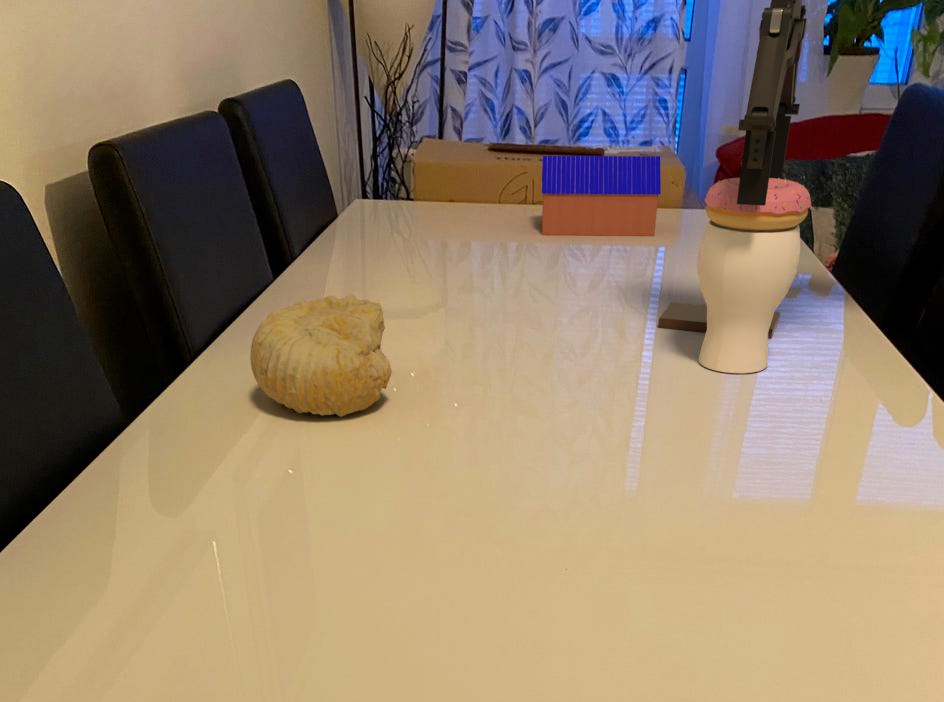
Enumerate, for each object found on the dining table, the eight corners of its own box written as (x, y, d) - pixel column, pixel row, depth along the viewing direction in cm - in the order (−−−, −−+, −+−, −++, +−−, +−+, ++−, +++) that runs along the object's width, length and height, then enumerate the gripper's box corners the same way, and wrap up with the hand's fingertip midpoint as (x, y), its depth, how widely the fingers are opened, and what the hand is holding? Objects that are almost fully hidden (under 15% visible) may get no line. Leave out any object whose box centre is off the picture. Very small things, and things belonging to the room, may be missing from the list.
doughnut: (804, 215, 108) (812, 173, 106) (810, 236, 99) (818, 191, 97) (703, 211, 110) (708, 170, 108) (700, 231, 101) (705, 187, 99)
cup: (800, 366, 112) (826, 226, 104) (735, 385, 107) (757, 238, 99) (730, 343, 119) (749, 210, 111) (666, 359, 114) (681, 221, 106)
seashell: (237, 434, 103) (351, 429, 95) (203, 329, 98) (321, 314, 90) (331, 385, 115) (439, 377, 107) (306, 290, 110) (417, 273, 102)
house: (540, 221, 181) (542, 150, 175) (650, 222, 180) (656, 151, 173) (540, 235, 171) (542, 161, 165) (656, 236, 170) (663, 161, 163)
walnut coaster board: (778, 321, 127) (780, 312, 126) (771, 339, 121) (772, 329, 120) (670, 311, 131) (671, 301, 131) (657, 327, 125) (658, 317, 124)
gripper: (769, -51, 102) (741, 173, 114) (732, -59, 83) (702, 212, 95) (845, -53, 100) (808, 176, 112) (826, -62, 81) (783, 216, 92)
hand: (760, 193), depth 103 cm, fingers open, 13 cm apart
